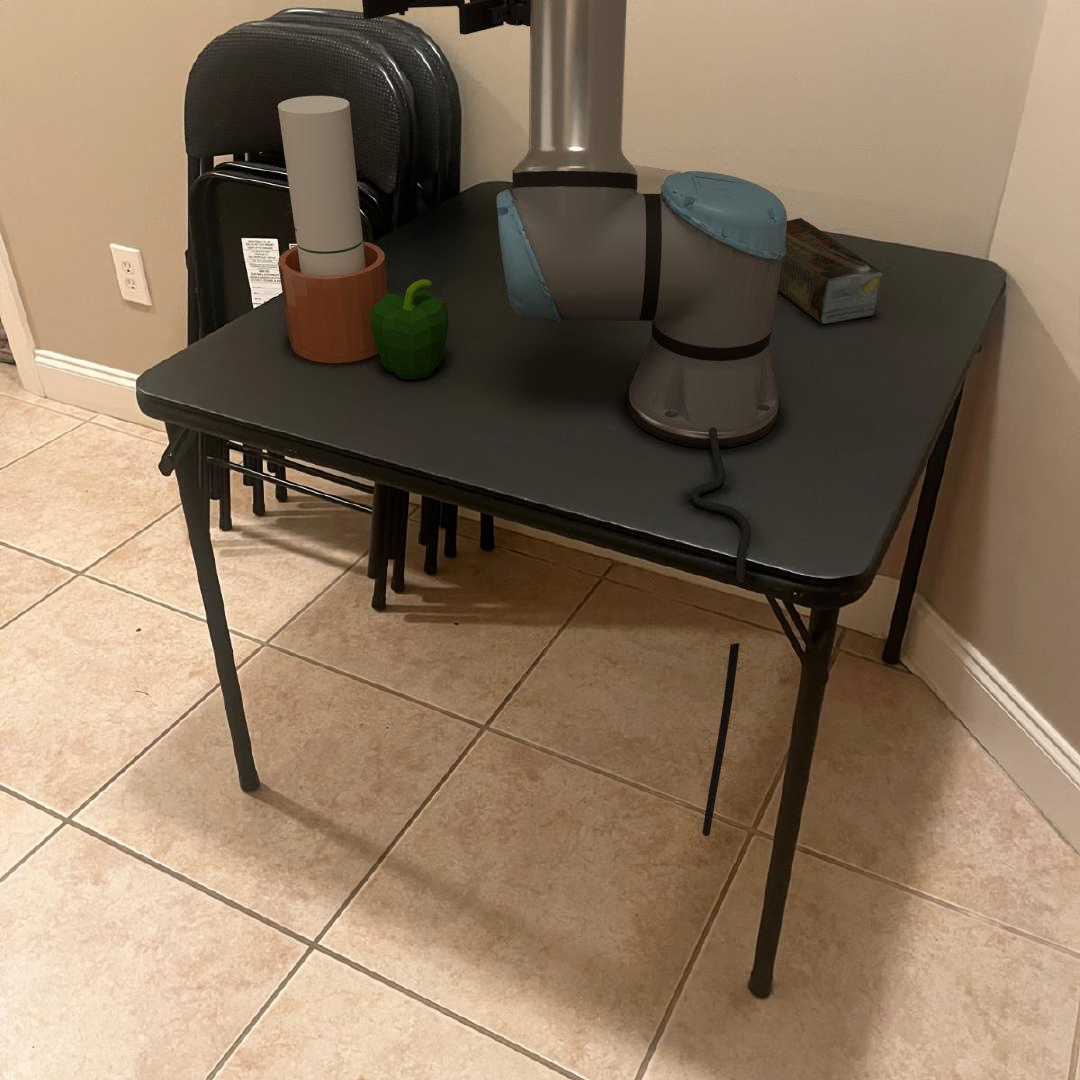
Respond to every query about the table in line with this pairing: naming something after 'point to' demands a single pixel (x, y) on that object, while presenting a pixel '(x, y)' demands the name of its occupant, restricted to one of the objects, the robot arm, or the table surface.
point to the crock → (332, 308)
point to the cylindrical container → (322, 184)
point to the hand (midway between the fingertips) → (411, 12)
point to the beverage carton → (826, 276)
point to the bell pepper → (410, 331)
